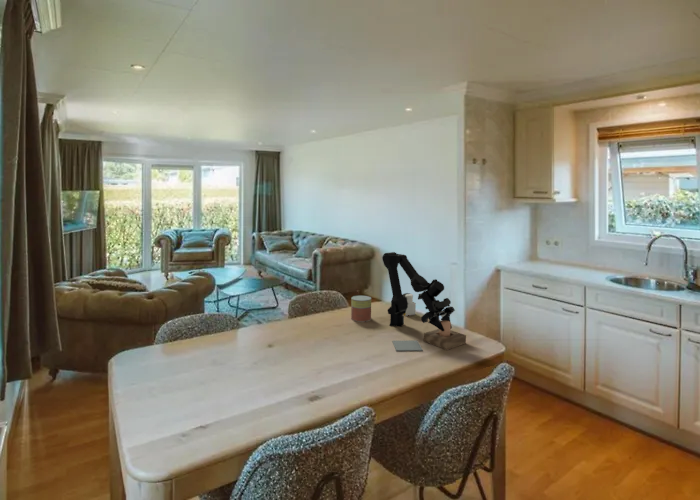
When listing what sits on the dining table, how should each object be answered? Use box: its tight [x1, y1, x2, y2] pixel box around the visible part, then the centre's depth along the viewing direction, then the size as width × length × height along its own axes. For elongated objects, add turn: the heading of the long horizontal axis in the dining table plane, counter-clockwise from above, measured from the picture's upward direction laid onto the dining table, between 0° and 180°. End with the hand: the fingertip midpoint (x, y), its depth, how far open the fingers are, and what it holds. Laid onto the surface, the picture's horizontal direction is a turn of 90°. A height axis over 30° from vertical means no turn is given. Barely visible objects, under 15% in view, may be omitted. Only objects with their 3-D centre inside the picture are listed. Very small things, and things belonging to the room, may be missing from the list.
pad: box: [391, 339, 424, 352], centre depth 196 cm, size 12×12×1 cm
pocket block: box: [423, 328, 467, 351], centre depth 202 cm, size 14×14×4 cm
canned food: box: [350, 295, 372, 323], centre depth 237 cm, size 11×11×12 cm
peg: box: [440, 320, 452, 337], centre depth 201 cm, size 5×5×10 cm
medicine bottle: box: [402, 292, 417, 317], centre depth 247 cm, size 7×7×12 cm
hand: (447, 329), depth 200 cm, fingers closed on peg, 5 cm apart
